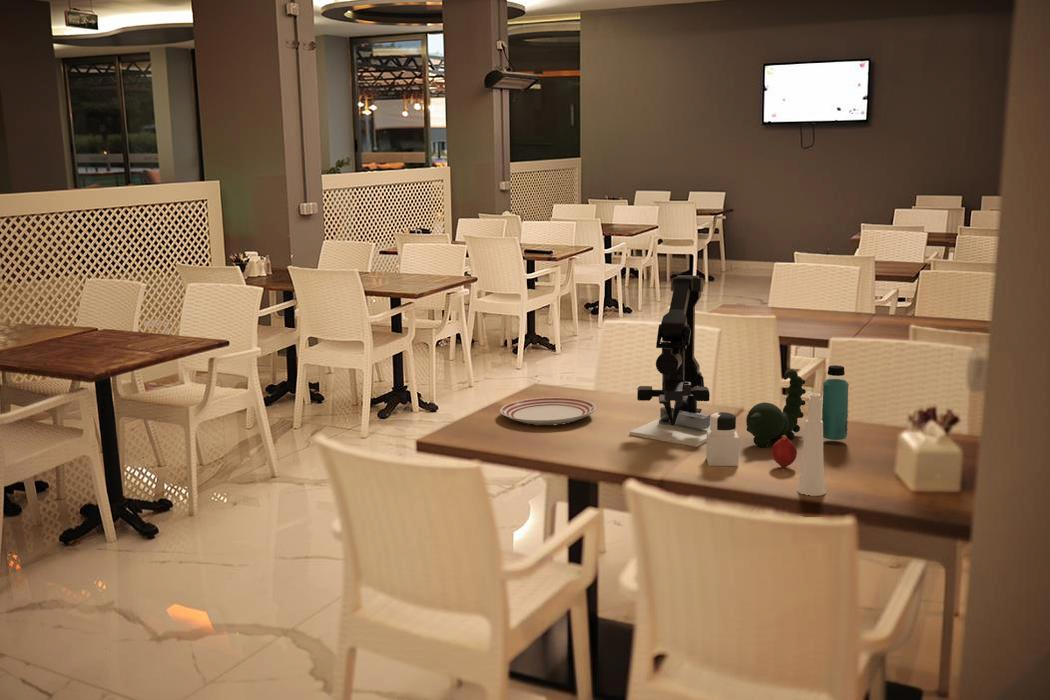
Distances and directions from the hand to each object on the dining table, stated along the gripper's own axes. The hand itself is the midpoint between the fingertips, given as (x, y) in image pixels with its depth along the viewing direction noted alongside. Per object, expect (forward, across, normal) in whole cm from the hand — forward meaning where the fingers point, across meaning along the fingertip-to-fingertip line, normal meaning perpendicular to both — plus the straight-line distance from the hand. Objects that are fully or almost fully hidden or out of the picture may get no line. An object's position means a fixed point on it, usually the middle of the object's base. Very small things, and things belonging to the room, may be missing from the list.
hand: (672, 425), depth 269 cm
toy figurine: (+3, +26, -4) cm, 27 cm away
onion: (+3, +25, -27) cm, 37 cm away
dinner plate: (+3, -35, +17) cm, 39 cm away
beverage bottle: (+3, +41, -5) cm, 41 cm away
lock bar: (+1, +3, +5) cm, 6 cm away
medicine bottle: (+3, +11, -23) cm, 26 cm away
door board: (+3, +2, +2) cm, 4 cm away
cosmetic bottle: (+3, +29, -44) cm, 53 cm away
